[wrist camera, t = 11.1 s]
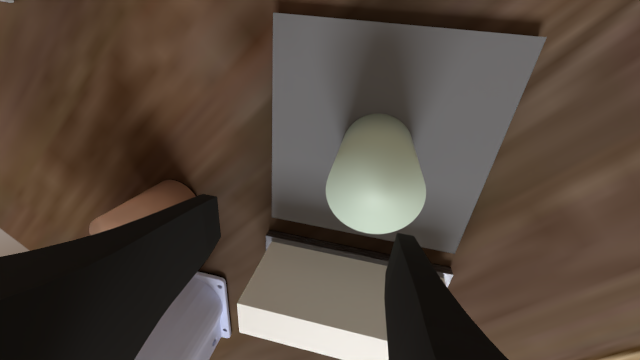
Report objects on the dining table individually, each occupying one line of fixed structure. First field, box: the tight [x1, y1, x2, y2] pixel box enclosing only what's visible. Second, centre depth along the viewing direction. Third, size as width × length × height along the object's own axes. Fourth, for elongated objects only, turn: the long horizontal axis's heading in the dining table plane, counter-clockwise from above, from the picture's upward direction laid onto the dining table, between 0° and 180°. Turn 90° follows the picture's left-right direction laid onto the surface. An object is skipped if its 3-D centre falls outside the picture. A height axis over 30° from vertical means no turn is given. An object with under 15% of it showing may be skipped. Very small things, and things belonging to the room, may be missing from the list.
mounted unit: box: [237, 230, 453, 360], centre depth 20 cm, size 4×15×7 cm, turn 85°
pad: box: [272, 13, 547, 254], centre depth 18 cm, size 14×14×1 cm
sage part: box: [326, 114, 426, 234], centre depth 15 cm, size 4×4×6 cm
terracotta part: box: [89, 180, 196, 235], centre depth 21 cm, size 4×4×6 cm
